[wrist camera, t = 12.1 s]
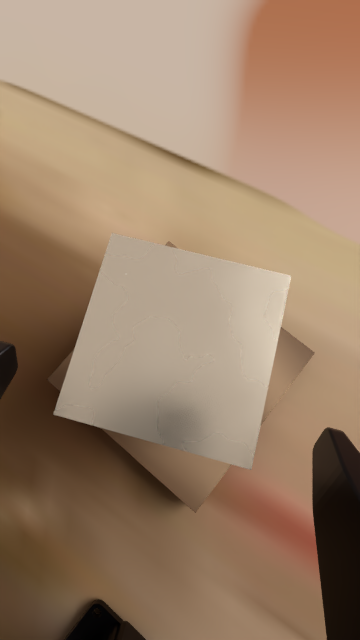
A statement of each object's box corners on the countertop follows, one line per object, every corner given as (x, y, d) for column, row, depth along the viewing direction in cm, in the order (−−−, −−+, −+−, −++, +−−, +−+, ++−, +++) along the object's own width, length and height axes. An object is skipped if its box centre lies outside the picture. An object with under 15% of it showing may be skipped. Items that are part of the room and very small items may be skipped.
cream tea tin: (216, 426, 20) (251, 469, 10) (122, 400, 21) (53, 414, 10) (238, 332, 21) (291, 275, 11) (148, 309, 22) (112, 232, 11)
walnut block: (194, 501, 21) (195, 513, 19) (58, 380, 23) (46, 379, 21) (303, 355, 23) (314, 352, 21) (170, 252, 25) (168, 241, 23)
